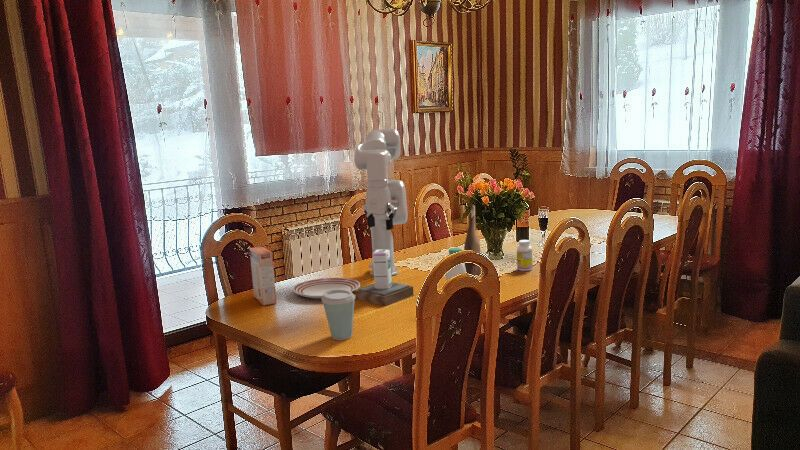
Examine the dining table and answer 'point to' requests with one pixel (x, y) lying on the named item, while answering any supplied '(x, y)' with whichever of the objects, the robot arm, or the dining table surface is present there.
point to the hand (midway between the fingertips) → (380, 228)
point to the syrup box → (382, 269)
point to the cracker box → (263, 275)
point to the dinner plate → (324, 286)
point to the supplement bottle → (524, 256)
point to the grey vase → (472, 243)
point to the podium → (384, 294)
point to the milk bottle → (456, 269)
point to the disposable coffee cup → (339, 312)
